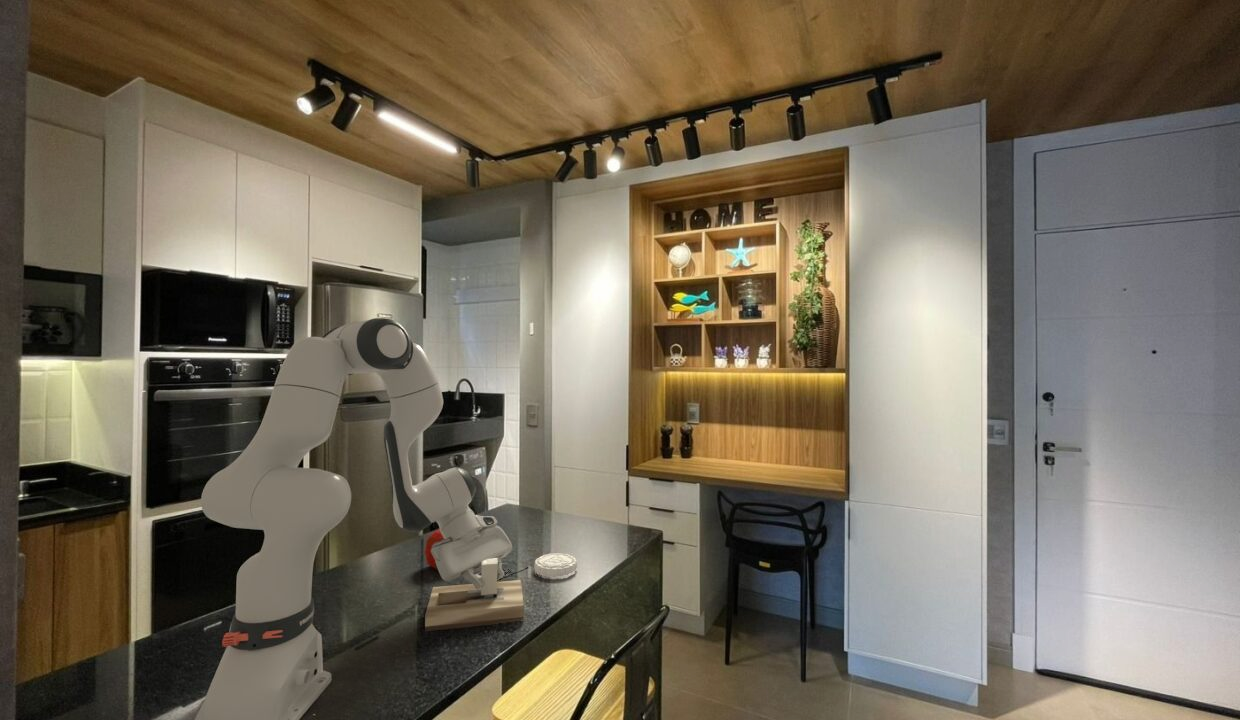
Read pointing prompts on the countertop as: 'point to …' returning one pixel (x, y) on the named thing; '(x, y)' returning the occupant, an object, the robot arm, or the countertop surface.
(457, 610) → the keyhole plate
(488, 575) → the cream peg
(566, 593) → the countertop surface
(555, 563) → the container lid
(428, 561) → the apple
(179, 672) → the countertop surface
